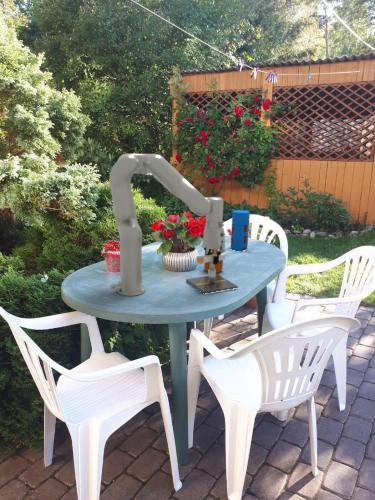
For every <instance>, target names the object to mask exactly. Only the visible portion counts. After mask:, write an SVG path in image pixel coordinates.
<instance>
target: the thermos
mask: <svg viewBox="0 0 375 500" xmlns="http://www.w3.org/2000/svg"><path fill="white" fill-rule="evenodd" d="M231 216H232V217H231V231H230V232H231V233H230V250H231V249H232V250H235V251H243V250H246V249H247V250H248V244H249V230H250V217H251V213H250V211H249V210H244V209H239V210H233V211H232V215H231ZM232 250H231V251H232ZM235 251H234V252H235Z"/></svg>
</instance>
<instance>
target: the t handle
mask: <svg viewBox="0 0 375 500" xmlns="http://www.w3.org/2000/svg"><path fill="white" fill-rule="evenodd" d="M214 256H215V254H213V255H206V256H205V255H198V256H196V263H197V264H199V265H200V264H204V263H206V262H210V269H211V270H214V269H215V265H214V264H213V258H214ZM226 256H227V255H226V253H225V252H223V253H222V254H220V256H219V261H220V260H223V261H225V260H226Z"/></svg>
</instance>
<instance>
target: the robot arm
mask: <svg viewBox="0 0 375 500" xmlns="http://www.w3.org/2000/svg"><path fill="white" fill-rule="evenodd" d="M109 173H110V174H109V187H110V193H111V197H112V210H113V215H114V219H115V224H116V227H117V232H118V234H119V235H118V236H119V265H120V266H119V269H120V280H118V283H116V284H115V283H113V284H110V285H109V288H110V290H113V289H114V290H115V291H116V290H117V293H118V294H119V295H121V296H129V297H132V296H138V295H139V296H140V295H143V294H144V293H145V292H146V286H144V285H143V272H142V271H143V255H142V251H143V250H142V248H143V247H142V246H143V232H142V227H141V226H140V225H139V222H138V217H137V213H136V211H137V207H136V204H135V199H134V196H133V191H132V185H131V179H132V176H133V175H134V174H150V175H151V176H153V178H155V179H156V180H157V181H158V182H159V183H160V184H161V185H162V186H163V187H164V188H165V189H166V190H168V192H170V193H171V194H172V195H174V196H175V197H177V198H178V199H180V200H181V201H182V202H183V203H184V204H185V205H187V207H188V208H189V210H190V212H192V213H194V214H196V215H197V216H199V217H206V218H205V226H204V230H203V235H202V237H203V238H202V244H201V247H202V248H203V249H204V253H205V252H206V254H207V255H212V253H211V251H212V249H213V250H214V253H215V256H214V258H213V264H214V265H215V264H218V263H219V256H220V254H222V253H226V249H225V247H226V236H225V235H226V233H225V229H224V227H225V224H224V223H223V218H224V217H223V216H224V215H223V214H224V198H222V197H221V196H219V197H218V196H210V197H205V195H203V194H202V193H201V192H200V191H199V190H198V189H197V188H195V187H194V186H193V185H192V184H191V183H190V182H189V181H188V180H187V179H186V178H185V177H184V176H183V175H182V174H181V173H180V172H179V171H178V170H177V169H176V168H175V167H174V166H173V165H171V163H170V162H168V161H167V160H166V158H165V157H164V156H162V155H161V154H157V153H123V154H122V155H120V156H119V158H118V159H117V161H116V162H115V163H114V165H113V166H112V168H111V170H110V172H109ZM220 249H221V251H220ZM207 263H208V262H207Z"/></svg>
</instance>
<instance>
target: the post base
mask: <svg viewBox="0 0 375 500" xmlns="http://www.w3.org/2000/svg"><path fill="white" fill-rule="evenodd" d="M185 283H186V284H188V283H189V284H188V285H190V286H191V285H192V286H193V287H192V286H191V287H192V288H194V287H195V288H196V289H198V290H199V291H201V292H202V293H204V294H205V293H211V292H216V291H221V290H227V289H233V288H238V289H239V286H238V285H236V284H235V283H233V282H231V281H230V280H228V279H226V278H225V277H223V276H221V275H220V274H217V273H216V269H214V270H211V269H208V272H207V275H205V276H199V277H192V278H186V279H185ZM195 288H194V289H195ZM196 289H195V290H196ZM198 290H197V291H198ZM199 291H198V292H199ZM202 293H201V294H202Z"/></svg>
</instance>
